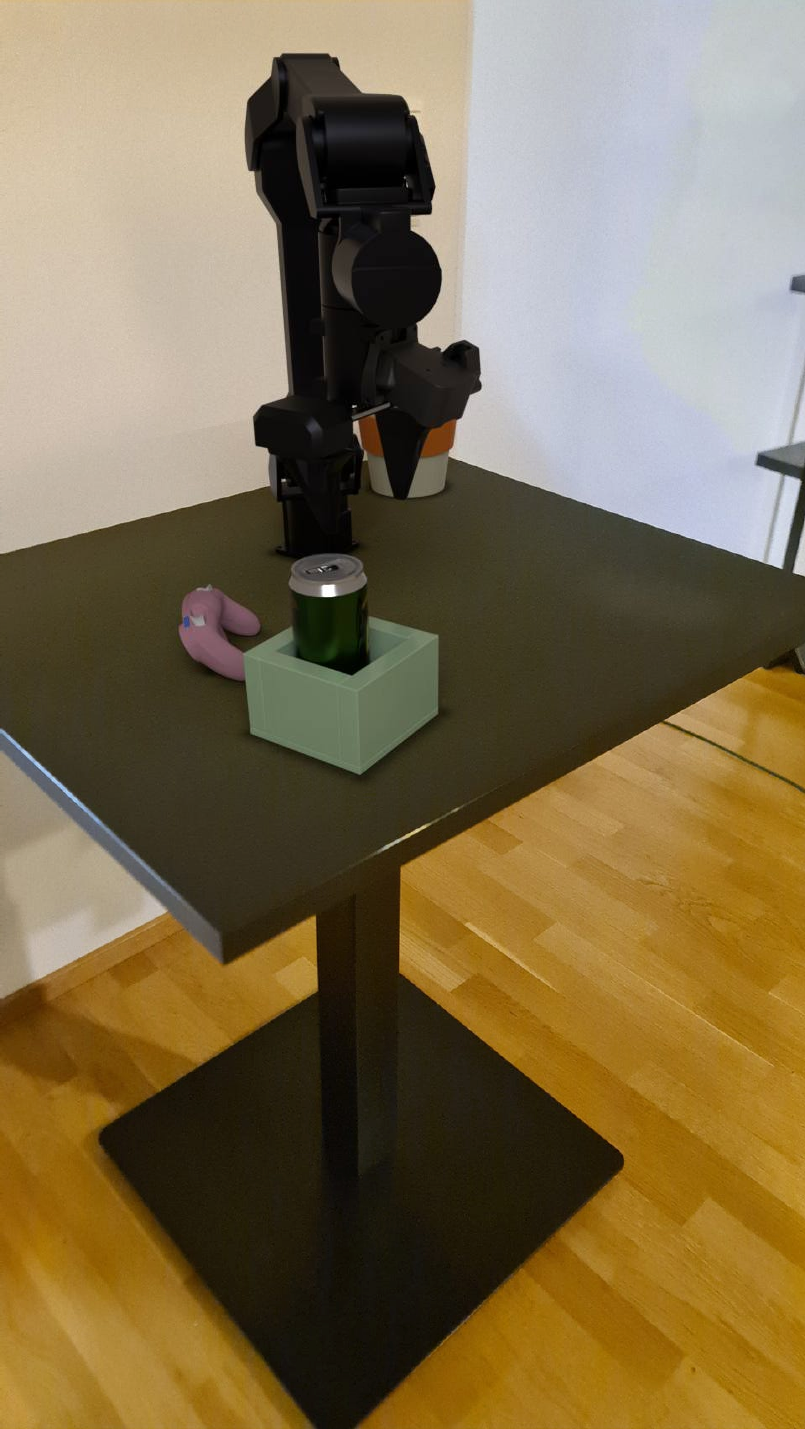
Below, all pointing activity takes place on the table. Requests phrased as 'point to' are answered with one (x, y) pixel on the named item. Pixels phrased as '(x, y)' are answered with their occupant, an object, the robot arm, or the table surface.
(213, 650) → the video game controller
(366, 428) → the reusable coffee cup
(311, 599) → the beer can
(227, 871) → the table surface
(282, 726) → the holder
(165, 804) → the table surface
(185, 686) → the table surface
